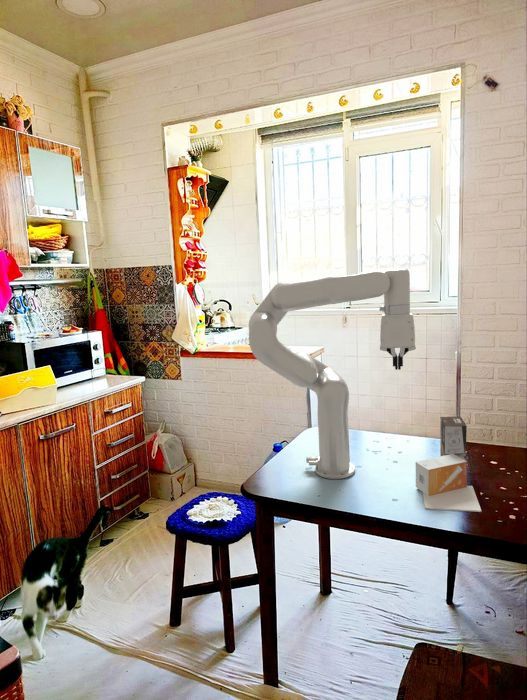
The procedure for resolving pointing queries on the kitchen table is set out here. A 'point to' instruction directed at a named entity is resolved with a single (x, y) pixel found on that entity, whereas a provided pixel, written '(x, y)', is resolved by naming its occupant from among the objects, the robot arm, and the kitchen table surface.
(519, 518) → the kitchen table surface
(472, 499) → the mat
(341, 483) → the kitchen table surface
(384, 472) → the kitchen table surface
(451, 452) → the coffee box
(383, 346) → the robot arm
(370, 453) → the kitchen table surface
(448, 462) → the small box
